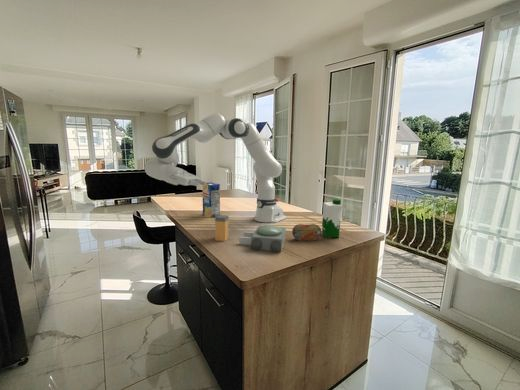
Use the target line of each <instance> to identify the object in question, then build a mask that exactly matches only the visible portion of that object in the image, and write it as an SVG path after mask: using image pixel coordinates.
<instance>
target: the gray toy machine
mask: <svg viewBox="0 0 520 390" xmlns="http://www.w3.org/2000/svg"><path fill="white" fill-rule="evenodd" d="M286 230H287V228H286V227H280V226H277V225H270V224H269V225H267V224H266V225H261V224H260V225H258V226H257V228H256V229H255V231H243V236H239V239H238V240H239V245H243V246H244V245H245V246H250V247H251V248H250V249H251V250H254V251H267V252H274V253H281V252H282V251H283V247H284V244H285V240H286V232H287V231H286Z"/></svg>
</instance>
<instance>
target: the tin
mask: <svg viewBox="0 0 520 390" xmlns="http://www.w3.org/2000/svg"><path fill="white" fill-rule="evenodd" d="M291 232H292V233H291V234H292V236H293V238H294V239H295V240H297V241H300V242H302V240H308V241H317V240H319V239H320V238H321V236H322V227H320V226H319V225H318V224H316V223H315V224H314V223H298V224H296V225H294V226H293V228H292V231H291Z"/></svg>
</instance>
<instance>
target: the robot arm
mask: <svg viewBox="0 0 520 390" xmlns="http://www.w3.org/2000/svg"><path fill="white" fill-rule="evenodd" d="M218 135H220V136H221V137H222V138H223V139H225V140H236V139H241V141H242V142H243V144H244V146H245V148H246V150H247V152H248V154H249V155H250V158H251V159H253V160H254V163H253V166H252V169H253V171H254V173H255V174H254V175H255V177H256V183H257V198H256V210H255V215H254V220H255V221H257V222H260V223H275V224H276V223H278V222H281V221H284V220H286V219H287V218H288V217H287V216H286V215H284V210H283V207H281V206H279V205H278V204H277V202H280V198H275V197H276V194H275V193H276V186H275V184H274V181H273V179H275V178H278V177H280V175H281V174H282V172H283V166H282V164H281V163H280V162H279V161H277V160H276V158H275V157H274V156H273V154H272V153H271V152H270V151H269V149H268V147H267V146H266V143H265V142H264V139H263V137H262V136H261V134H260V132H259V130H258V128H257V127H256V126H255V125H254V124H253V122H252V123H251V122H246V121H245V120H243V119H242V118H235V117H234V118H231V119H225V117H224V116H223V115H222V114H220V113H218V112H214V113H212V114H210V115H208V116H206V117H204V118H203V119H201V120H200V121H198V122H196V123H189V124H187V125H184V126H183V127H181V128H179V129H177V130H175V131H173V132H171V133H170V134H168V135H164V136H161V137H158V138H157V139H155V140H154V142H153V143H152V144H151V148H152V149H151V151H152V152H153V154H154V157H152V158H150V159H147V160H146V161H145V163H144V171H145V173H146V175H148V176H149V177H151V178H154V179H155V180H159V181H164V182H166V183H167V184H171V185H174V186H179V185H182V186H185V187H186V186H195V187H200V185H201V186H202V185H205V183H206V181H203V180H201V178H200V177H199V176H198V175H195V174H193V173H190V172H188V171H187V170H185V169H183V168H180V167H178V166H177V165H178V164H179V162H180V157H179V153H178V152H177V150H176V148H177V147H178V146H179V145H180V144H182V143H184V142H186V141H187V140H189V139H193V140H196V142H198V143H203V144H204V143H208V142H209V141H211V140H212V139H214V138H215V137H216V136H218Z"/></svg>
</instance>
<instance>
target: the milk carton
mask: <svg viewBox="0 0 520 390" xmlns="http://www.w3.org/2000/svg"><path fill="white" fill-rule="evenodd" d="M341 202H342V201H341V199H337V198H335V199H332V202H331V201H328V202H326V201H325V202H323V204H322V205H323V206H322V207H323V210H322V224H321V231H322V233H321V235H322V236H323V237H325V238H326V237H339V238H340V229H341V219H342V218H341V217H342V210H343V205H342V203H341Z"/></svg>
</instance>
